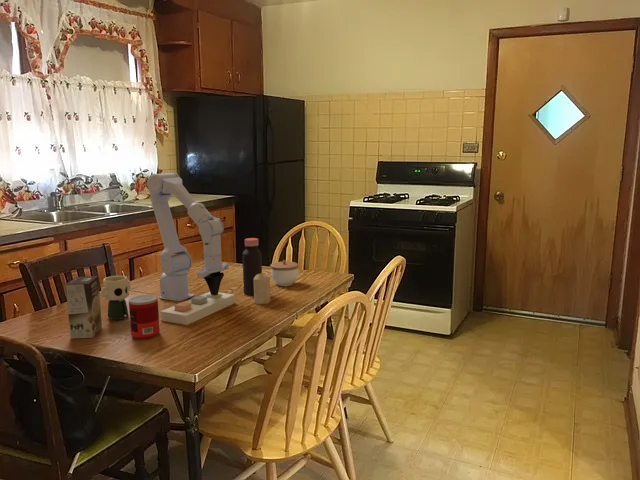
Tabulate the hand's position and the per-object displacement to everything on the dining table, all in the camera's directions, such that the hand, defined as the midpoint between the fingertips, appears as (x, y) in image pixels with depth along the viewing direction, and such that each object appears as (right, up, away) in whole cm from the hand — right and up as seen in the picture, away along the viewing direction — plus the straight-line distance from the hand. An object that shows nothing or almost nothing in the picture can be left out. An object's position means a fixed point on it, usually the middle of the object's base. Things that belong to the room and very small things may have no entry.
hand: (214, 294), depth 188 cm
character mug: (-28, -7, -12) cm, 31 cm away
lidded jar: (+22, +1, +27) cm, 35 cm away
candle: (+16, -3, +3) cm, 16 cm away
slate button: (-4, -3, -7) cm, 8 cm away
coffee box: (-32, -9, -26) cm, 42 cm away
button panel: (-4, -5, -6) cm, 9 cm away
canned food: (-15, -9, -28) cm, 33 cm away
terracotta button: (-7, -4, -14) cm, 16 cm away
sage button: (0, -3, +1) cm, 3 cm away
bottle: (+11, -1, +14) cm, 18 cm away
